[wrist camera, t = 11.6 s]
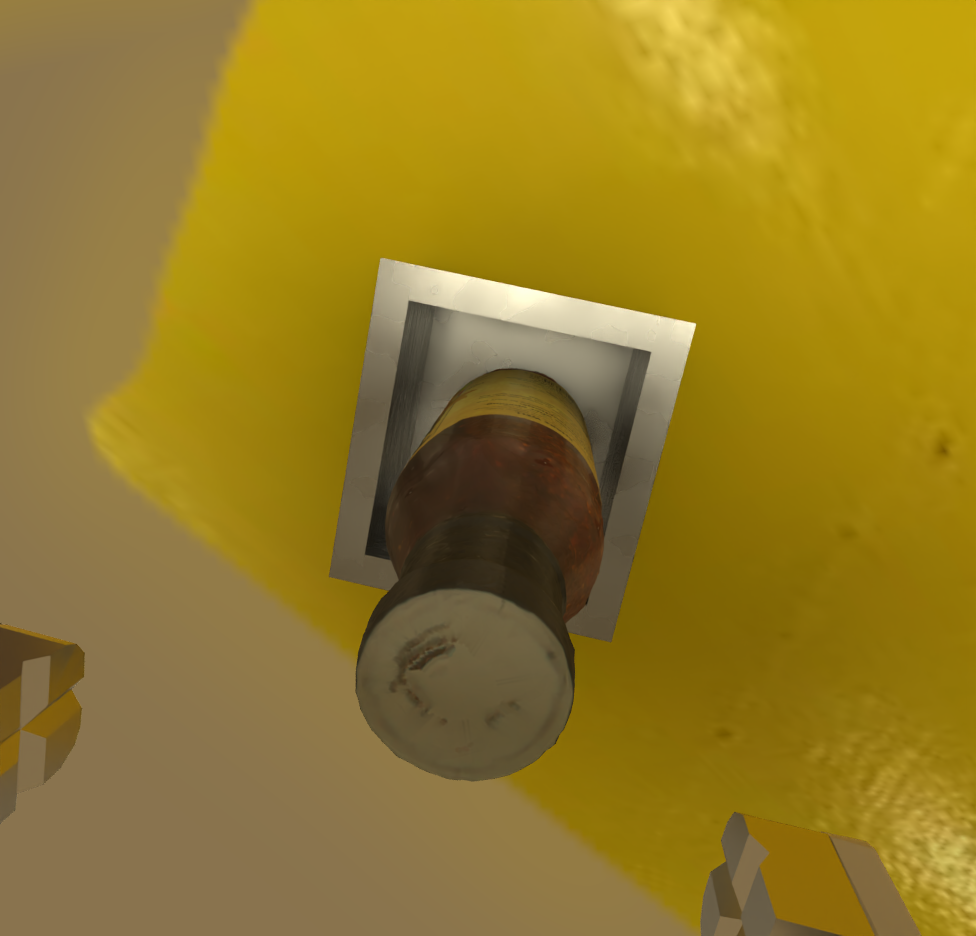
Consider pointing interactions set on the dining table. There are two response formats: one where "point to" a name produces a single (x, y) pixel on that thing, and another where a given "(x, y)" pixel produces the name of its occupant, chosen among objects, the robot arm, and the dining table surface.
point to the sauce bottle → (485, 581)
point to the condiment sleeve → (500, 345)
